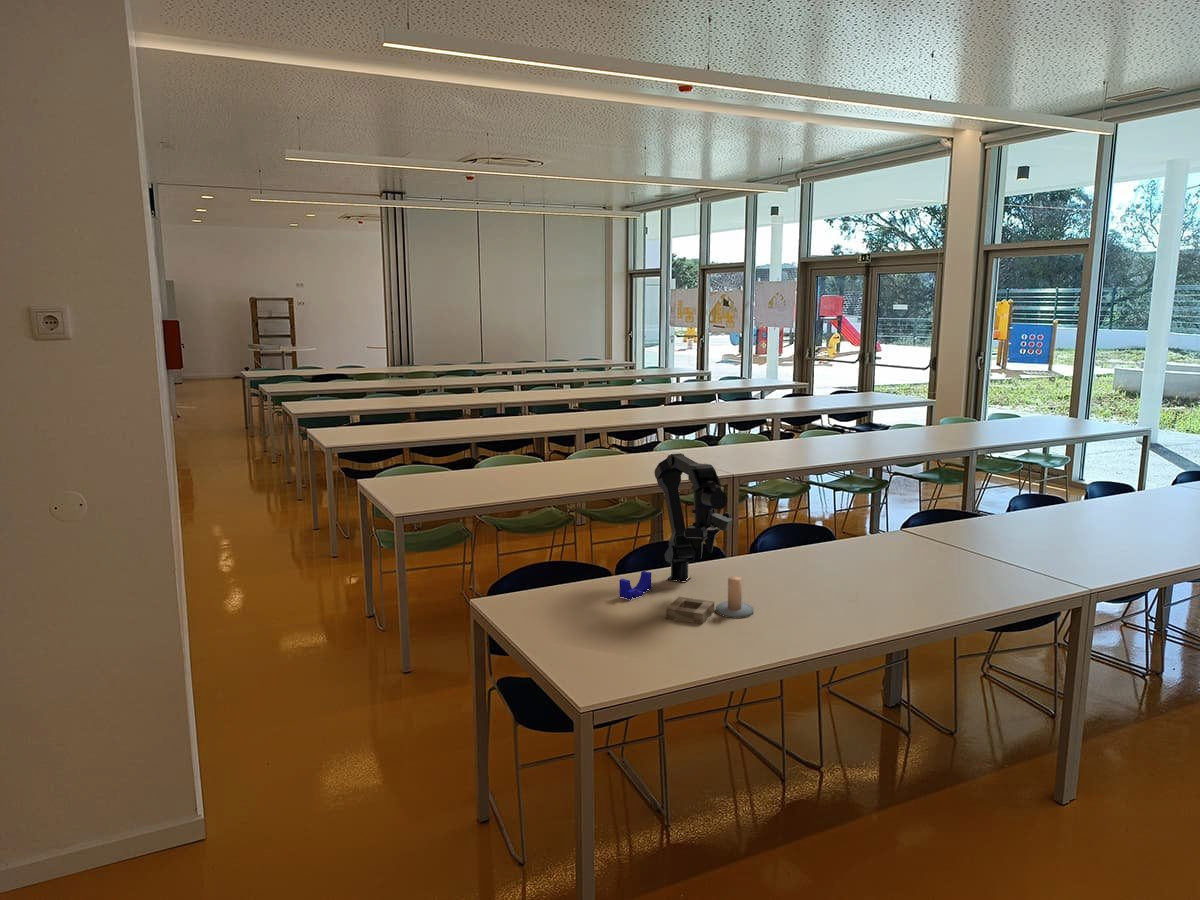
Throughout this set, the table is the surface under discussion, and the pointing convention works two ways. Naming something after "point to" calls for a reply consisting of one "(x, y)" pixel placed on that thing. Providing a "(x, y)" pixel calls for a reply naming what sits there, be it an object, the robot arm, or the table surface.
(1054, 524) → the table surface
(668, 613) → the pocket block
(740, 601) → the post
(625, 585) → the cable clip
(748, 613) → the slate mat
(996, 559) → the table surface
